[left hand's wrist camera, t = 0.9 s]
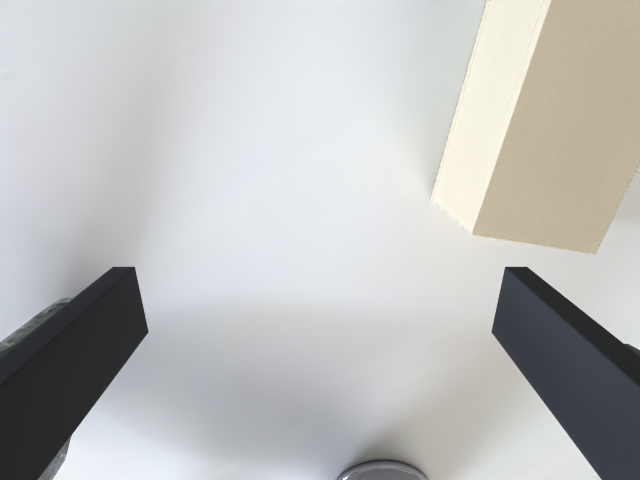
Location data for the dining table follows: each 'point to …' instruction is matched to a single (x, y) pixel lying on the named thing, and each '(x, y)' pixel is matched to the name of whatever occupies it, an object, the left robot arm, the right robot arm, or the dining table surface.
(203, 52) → the dining table surface
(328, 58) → the dining table surface
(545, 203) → the cabinet
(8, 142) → the dining table surface
